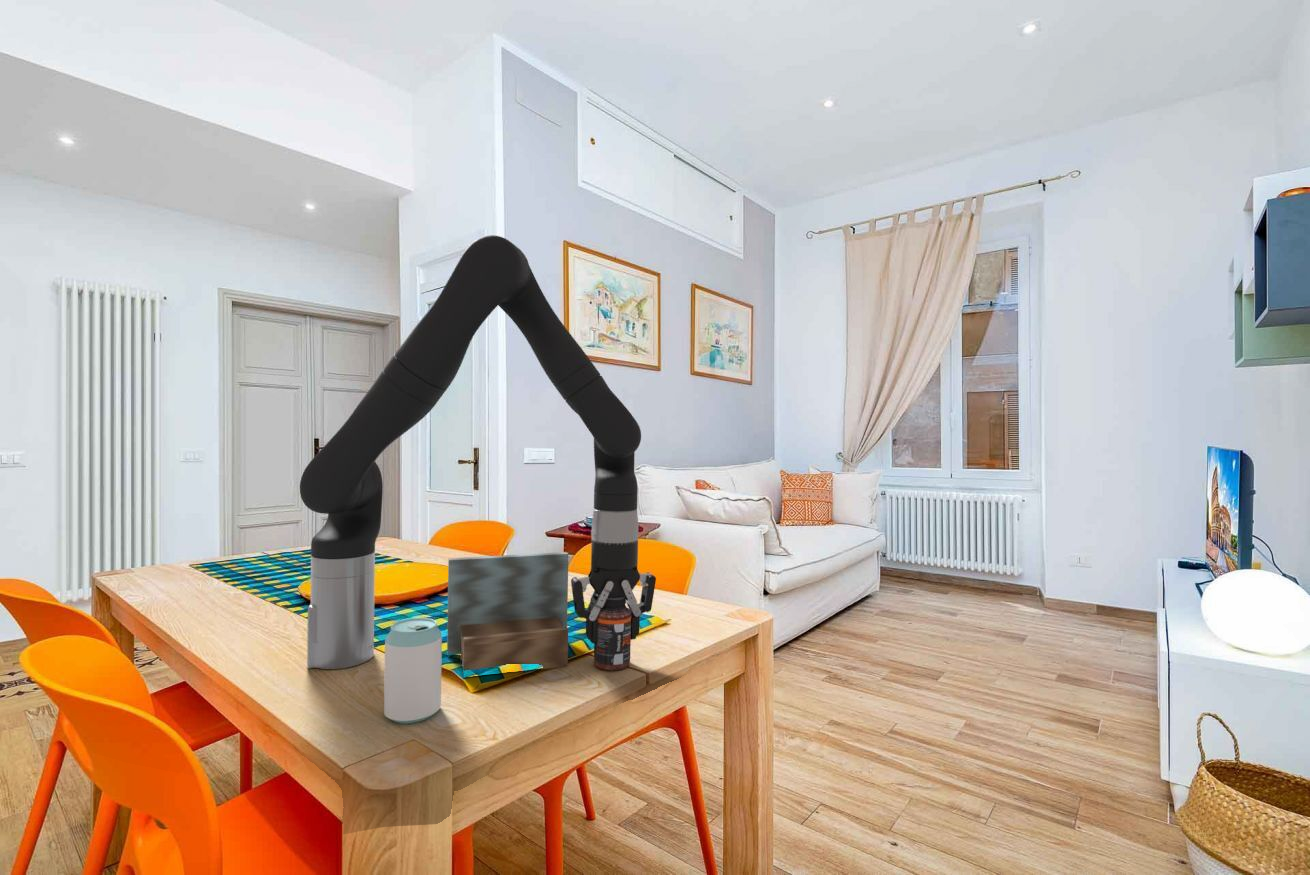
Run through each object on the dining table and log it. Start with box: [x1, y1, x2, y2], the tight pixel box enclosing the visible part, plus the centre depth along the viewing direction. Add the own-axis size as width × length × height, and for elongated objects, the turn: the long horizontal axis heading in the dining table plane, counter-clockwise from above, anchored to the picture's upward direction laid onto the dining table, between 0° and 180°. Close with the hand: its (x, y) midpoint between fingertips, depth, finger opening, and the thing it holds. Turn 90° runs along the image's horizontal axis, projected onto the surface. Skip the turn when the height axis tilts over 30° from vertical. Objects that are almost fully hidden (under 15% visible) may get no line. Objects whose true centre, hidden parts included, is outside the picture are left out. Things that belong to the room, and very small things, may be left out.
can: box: [383, 617, 443, 724], centre depth 83 cm, size 7×7×12 cm
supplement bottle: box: [593, 597, 632, 671], centre depth 101 cm, size 6×6×11 cm
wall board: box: [446, 551, 569, 671], centre depth 102 cm, size 20×11×16 cm, turn 110°
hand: (612, 639), depth 101 cm, fingers closed on supplement bottle, 6 cm apart
